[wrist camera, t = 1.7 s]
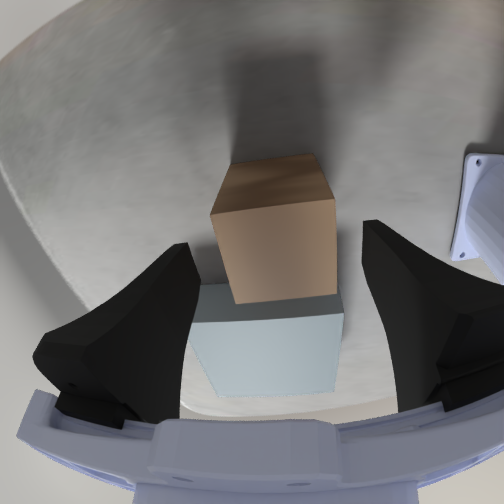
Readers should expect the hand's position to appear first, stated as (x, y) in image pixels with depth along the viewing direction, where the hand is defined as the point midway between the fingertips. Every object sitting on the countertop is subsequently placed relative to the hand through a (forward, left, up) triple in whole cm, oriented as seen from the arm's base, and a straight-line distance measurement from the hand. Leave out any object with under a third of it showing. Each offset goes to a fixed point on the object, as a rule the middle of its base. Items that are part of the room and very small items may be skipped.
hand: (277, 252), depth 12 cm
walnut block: (0, 0, -6) cm, 6 cm away
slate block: (+2, +11, -6) cm, 13 cm away
